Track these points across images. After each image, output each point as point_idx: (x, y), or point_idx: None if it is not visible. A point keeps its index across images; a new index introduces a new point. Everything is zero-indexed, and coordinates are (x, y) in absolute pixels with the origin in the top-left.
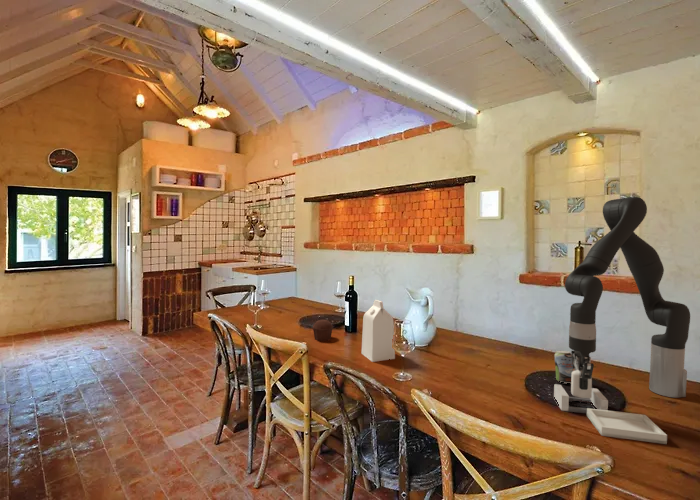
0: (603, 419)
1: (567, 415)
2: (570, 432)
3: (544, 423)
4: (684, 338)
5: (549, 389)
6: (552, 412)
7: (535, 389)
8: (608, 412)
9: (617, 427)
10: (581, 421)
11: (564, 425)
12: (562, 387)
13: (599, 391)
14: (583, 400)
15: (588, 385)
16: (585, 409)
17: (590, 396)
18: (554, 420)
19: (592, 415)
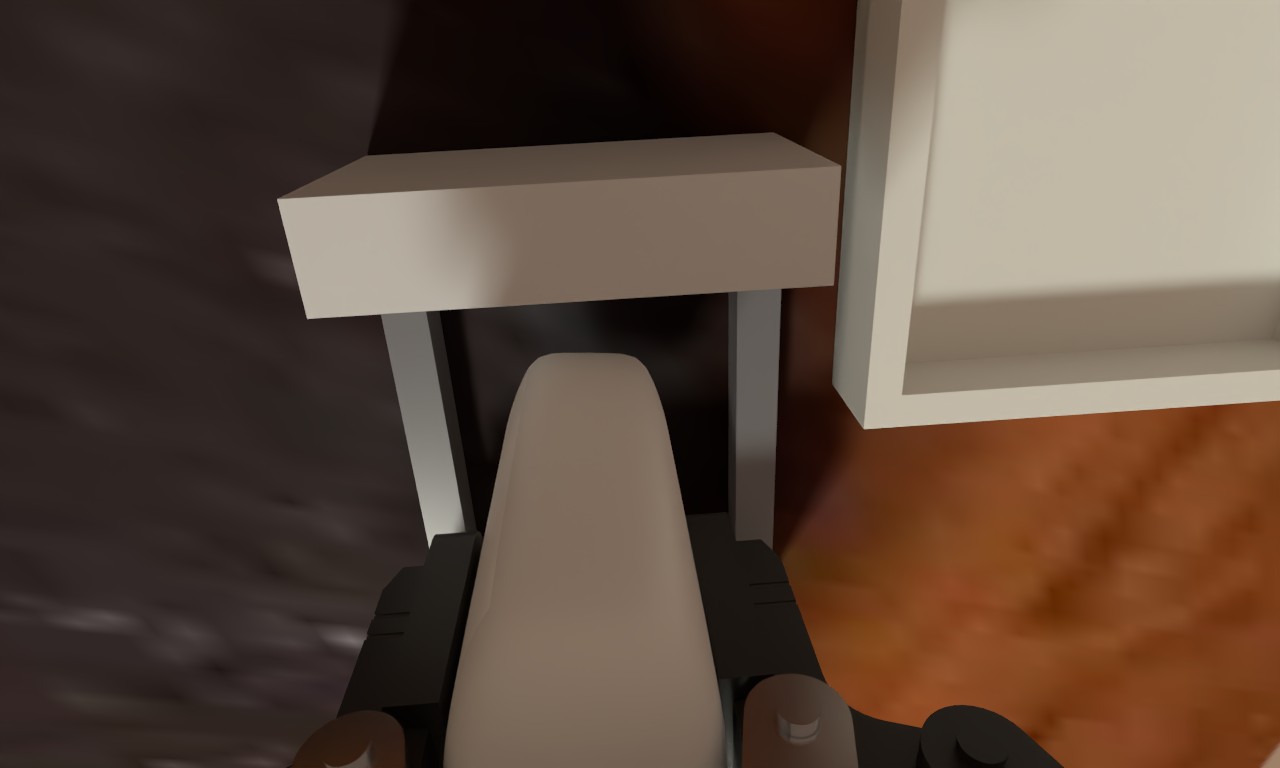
0: (979, 250)
1: (865, 558)
2: (1204, 590)
3: (1059, 736)
4: None
5: (190, 622)
6: (829, 664)
7: (284, 740)
8: (919, 173)
9: (1175, 143)
10: (979, 463)
11: (1080, 612)
12: None
13: (425, 194)
14: (436, 344)
15: (684, 524)
16: (771, 401)
17: (649, 377)
18: (993, 669)
19: (1057, 412)
